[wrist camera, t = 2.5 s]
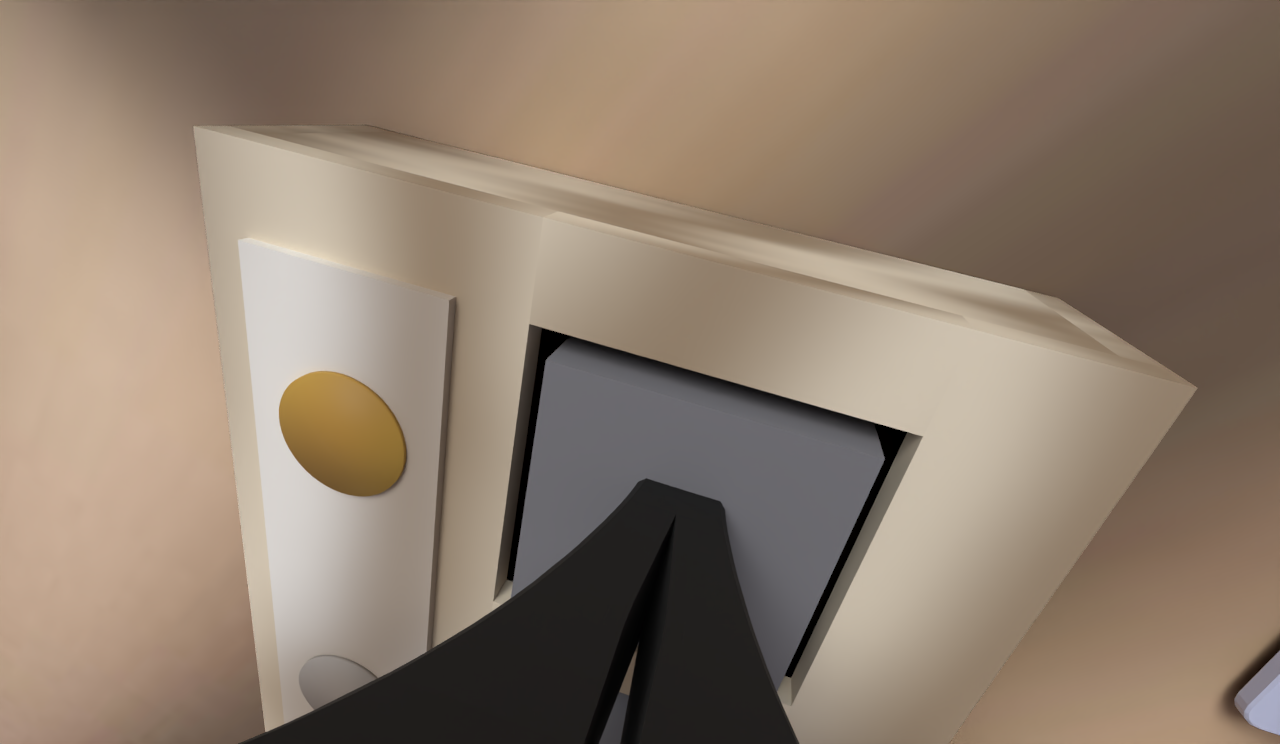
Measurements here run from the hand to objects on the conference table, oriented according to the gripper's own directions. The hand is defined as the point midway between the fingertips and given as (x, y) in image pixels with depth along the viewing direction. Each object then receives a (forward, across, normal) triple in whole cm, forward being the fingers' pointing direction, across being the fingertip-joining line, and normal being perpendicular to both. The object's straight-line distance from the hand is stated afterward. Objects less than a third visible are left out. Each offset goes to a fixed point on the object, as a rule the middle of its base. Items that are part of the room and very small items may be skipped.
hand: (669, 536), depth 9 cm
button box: (+4, +2, +7) cm, 8 cm away
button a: (+3, 0, 0) cm, 3 cm away
